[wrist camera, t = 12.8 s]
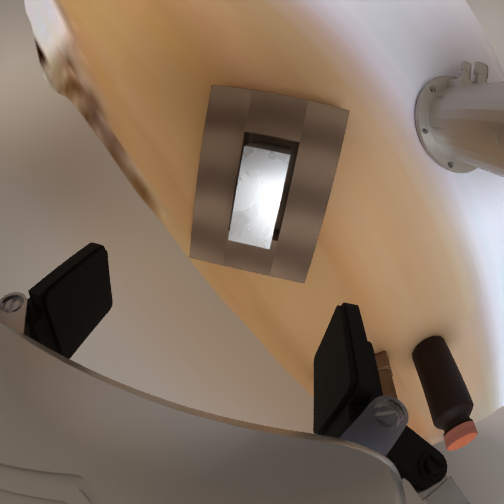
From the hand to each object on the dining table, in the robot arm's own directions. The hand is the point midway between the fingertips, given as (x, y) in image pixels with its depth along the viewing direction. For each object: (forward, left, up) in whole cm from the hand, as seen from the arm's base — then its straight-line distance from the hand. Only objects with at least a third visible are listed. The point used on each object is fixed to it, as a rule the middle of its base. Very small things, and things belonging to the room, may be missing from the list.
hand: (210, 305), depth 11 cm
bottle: (+21, +34, -25) cm, 47 cm away
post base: (0, 0, -25) cm, 25 cm away
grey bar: (0, 0, -24) cm, 24 cm away
